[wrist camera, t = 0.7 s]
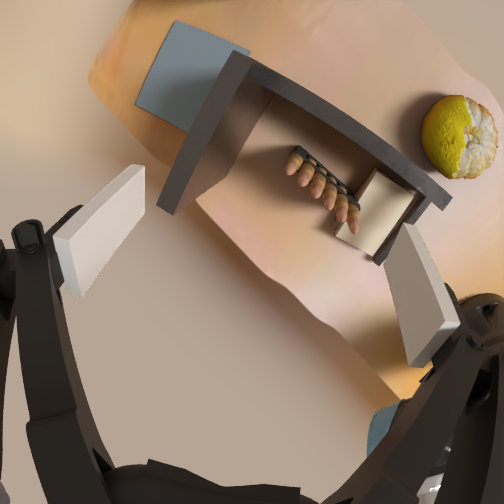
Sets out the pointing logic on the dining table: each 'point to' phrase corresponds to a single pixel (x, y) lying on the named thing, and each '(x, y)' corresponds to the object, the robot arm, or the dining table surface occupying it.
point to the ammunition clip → (324, 187)
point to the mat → (184, 74)
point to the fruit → (459, 137)
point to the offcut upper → (376, 213)
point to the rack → (242, 123)
